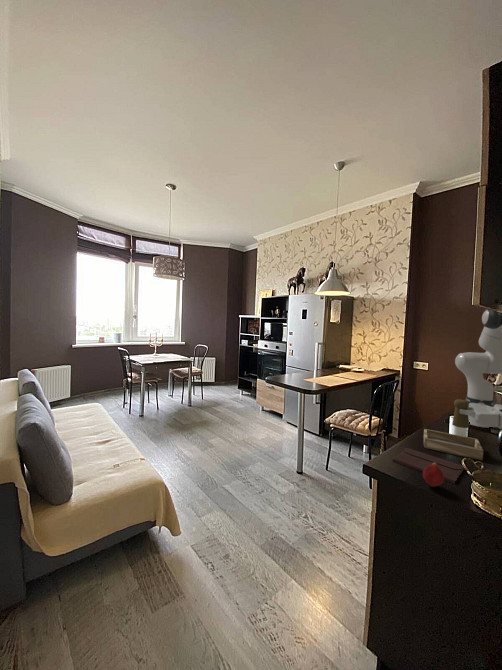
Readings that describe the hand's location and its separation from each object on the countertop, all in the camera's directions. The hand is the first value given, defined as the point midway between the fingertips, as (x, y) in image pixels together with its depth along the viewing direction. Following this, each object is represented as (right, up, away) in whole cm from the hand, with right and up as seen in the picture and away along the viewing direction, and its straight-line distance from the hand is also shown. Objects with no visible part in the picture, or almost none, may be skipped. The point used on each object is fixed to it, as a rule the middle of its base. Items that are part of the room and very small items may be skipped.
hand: (458, 409), depth 125 cm
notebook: (-22, -18, -15) cm, 32 cm away
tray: (-2, -17, +2) cm, 17 cm away
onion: (-30, -18, -30) cm, 46 cm away
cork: (+1, -7, 0) cm, 7 cm away
